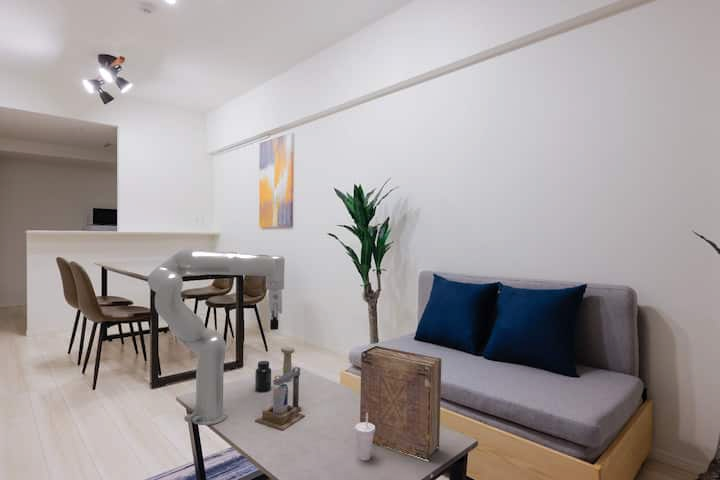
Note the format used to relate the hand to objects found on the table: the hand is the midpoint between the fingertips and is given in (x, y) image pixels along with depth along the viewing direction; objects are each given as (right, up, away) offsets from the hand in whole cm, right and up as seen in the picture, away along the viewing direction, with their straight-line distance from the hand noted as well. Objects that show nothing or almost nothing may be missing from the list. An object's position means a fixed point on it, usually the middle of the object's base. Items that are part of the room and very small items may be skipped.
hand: (274, 329), depth 170 cm
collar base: (+7, -30, -16) cm, 34 cm away
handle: (+2, -29, +21) cm, 36 cm away
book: (+49, -31, -34) cm, 67 cm away
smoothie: (+37, -31, -42) cm, 64 cm away
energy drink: (+6, -29, -18) cm, 35 cm away
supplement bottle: (-7, -29, +10) cm, 31 cm away
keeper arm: (+8, -16, -16) cm, 24 cm away
